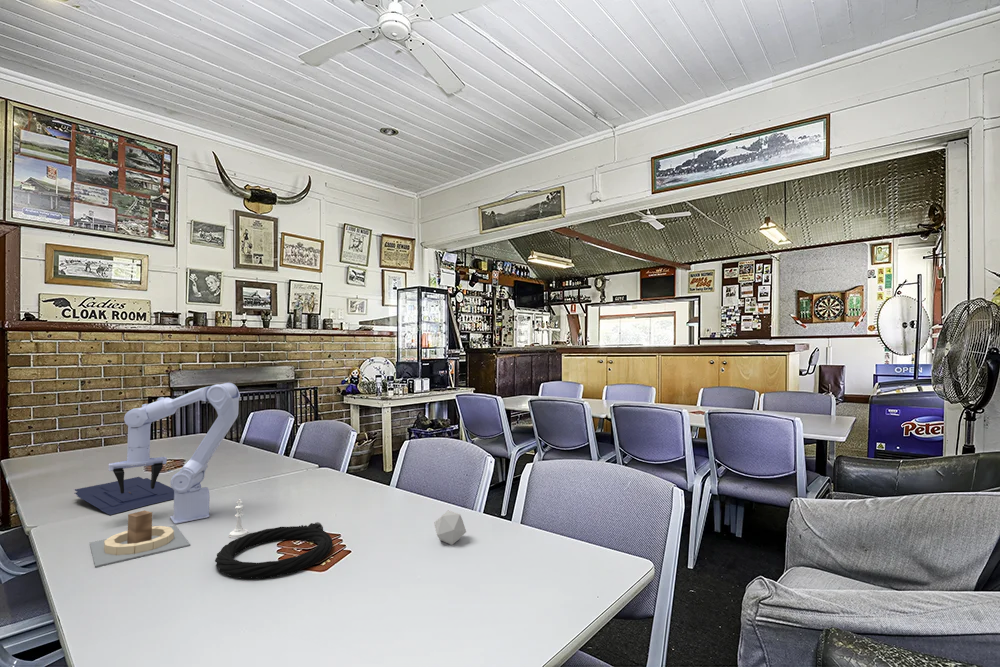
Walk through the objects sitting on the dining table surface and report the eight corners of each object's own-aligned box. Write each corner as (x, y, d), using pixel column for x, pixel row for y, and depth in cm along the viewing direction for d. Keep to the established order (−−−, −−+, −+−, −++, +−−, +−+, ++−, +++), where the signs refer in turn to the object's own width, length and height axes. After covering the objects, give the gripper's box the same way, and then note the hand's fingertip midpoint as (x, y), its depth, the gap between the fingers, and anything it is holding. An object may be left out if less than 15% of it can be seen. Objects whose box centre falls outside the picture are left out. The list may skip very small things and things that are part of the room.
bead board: (175, 526, 148) (176, 518, 148) (190, 545, 134) (190, 536, 134) (89, 543, 135) (89, 535, 135) (95, 567, 120) (95, 557, 120)
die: (472, 543, 137) (467, 509, 143) (458, 537, 130) (454, 502, 136) (445, 552, 139) (442, 517, 145) (431, 546, 132) (428, 510, 138)
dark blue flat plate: (143, 482, 193) (144, 473, 193) (186, 503, 179) (187, 493, 179) (66, 498, 172) (67, 488, 172) (108, 523, 158) (109, 512, 158)
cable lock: (187, 556, 119) (280, 516, 147) (187, 572, 119) (280, 529, 147) (279, 573, 110) (359, 527, 138) (279, 590, 110) (359, 541, 138)
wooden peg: (143, 539, 137) (144, 510, 137) (151, 542, 135) (152, 512, 135) (127, 544, 134) (128, 514, 134) (135, 547, 132) (135, 516, 132)
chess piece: (240, 538, 139) (240, 502, 139) (224, 537, 140) (225, 501, 140) (252, 532, 144) (252, 497, 144) (237, 531, 145) (238, 496, 145)
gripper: (164, 441, 162) (163, 483, 161) (108, 447, 152) (106, 492, 152) (168, 444, 157) (167, 487, 156) (110, 450, 147) (108, 497, 146)
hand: (137, 490), depth 154 cm, fingers open, 7 cm apart
